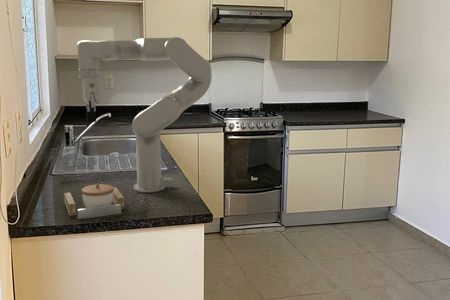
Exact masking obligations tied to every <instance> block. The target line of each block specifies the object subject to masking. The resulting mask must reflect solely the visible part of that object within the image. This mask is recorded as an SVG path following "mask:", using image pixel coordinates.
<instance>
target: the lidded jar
mask: <svg viewBox="0 0 450 300" xmlns="http://www.w3.org/2000/svg"><path fill="white" fill-rule="evenodd" d="M114 188H115V187H114V186H113V185H110V184H101V183H95V184H91V185H86V186H84V187H83V188H81V197H82V203H83V205H84V206H85V208H91V207H99V206H107V205H113V203H114V202H113V191H114Z"/></svg>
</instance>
